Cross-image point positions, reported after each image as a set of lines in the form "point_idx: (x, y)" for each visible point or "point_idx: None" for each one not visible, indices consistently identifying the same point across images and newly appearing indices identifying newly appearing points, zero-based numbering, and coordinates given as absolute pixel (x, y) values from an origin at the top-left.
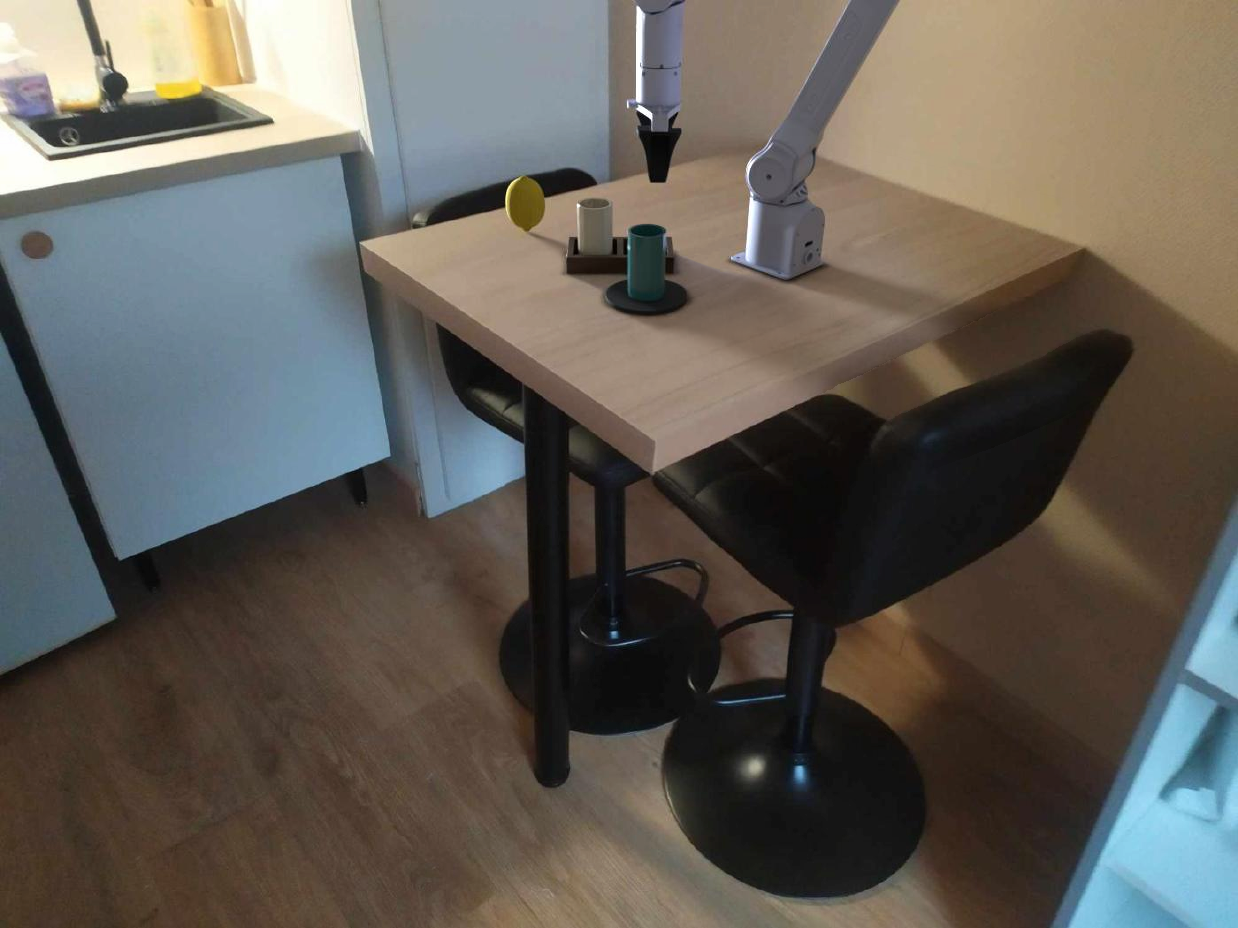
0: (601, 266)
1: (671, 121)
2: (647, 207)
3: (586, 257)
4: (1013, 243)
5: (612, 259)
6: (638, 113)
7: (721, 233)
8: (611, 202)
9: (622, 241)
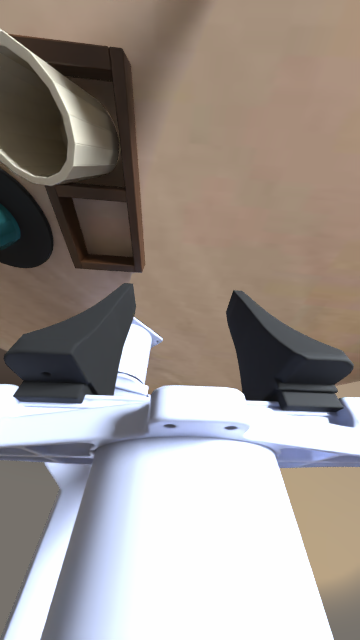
0: None
1: (245, 389)
2: (303, 251)
3: None
4: None
5: None
6: (296, 360)
7: (196, 313)
8: (48, 182)
9: (114, 199)
